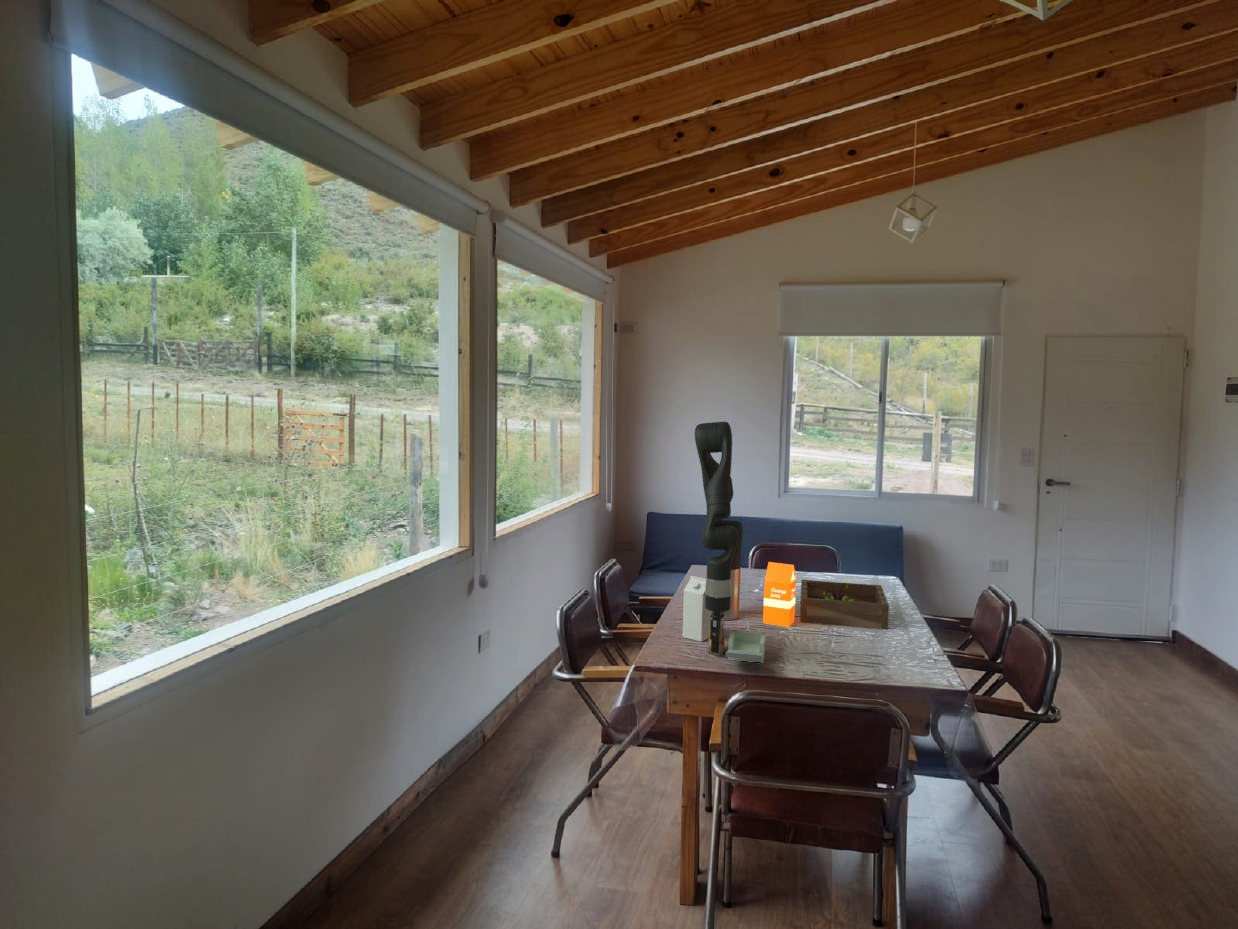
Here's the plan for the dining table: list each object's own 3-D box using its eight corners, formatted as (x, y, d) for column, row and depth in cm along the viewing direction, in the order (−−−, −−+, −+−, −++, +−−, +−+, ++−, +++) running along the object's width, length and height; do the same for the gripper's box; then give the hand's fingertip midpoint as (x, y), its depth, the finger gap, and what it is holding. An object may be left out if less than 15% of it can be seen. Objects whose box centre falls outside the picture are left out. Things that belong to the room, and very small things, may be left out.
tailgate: (728, 649, 229) (725, 652, 219) (762, 652, 227) (761, 655, 216) (728, 653, 229) (725, 656, 218) (762, 656, 227) (761, 660, 216)
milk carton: (695, 632, 256) (696, 573, 254) (713, 637, 251) (715, 577, 250) (682, 637, 250) (684, 577, 249) (701, 642, 246) (703, 581, 244)
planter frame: (800, 600, 296) (801, 579, 296) (879, 607, 290) (881, 585, 290) (800, 622, 269) (801, 598, 269) (887, 629, 263) (889, 605, 262)
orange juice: (768, 617, 274) (771, 559, 272) (794, 621, 270) (797, 562, 268) (762, 623, 267) (764, 564, 265) (788, 627, 263) (791, 567, 262)
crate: (730, 649, 240) (731, 629, 239) (764, 652, 238) (765, 632, 237) (727, 660, 230) (728, 640, 229) (763, 663, 228) (764, 643, 227)
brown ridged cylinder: (709, 649, 239) (710, 622, 239) (724, 650, 238) (725, 623, 238) (707, 654, 235) (708, 627, 234) (723, 655, 234) (724, 628, 233)
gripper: (708, 586, 243) (706, 640, 244) (702, 598, 229) (700, 655, 230) (733, 588, 241) (731, 642, 243) (728, 600, 227) (726, 657, 229)
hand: (716, 648), depth 237 cm, fingers open, 6 cm apart
